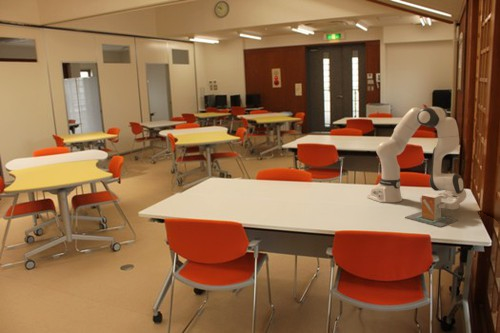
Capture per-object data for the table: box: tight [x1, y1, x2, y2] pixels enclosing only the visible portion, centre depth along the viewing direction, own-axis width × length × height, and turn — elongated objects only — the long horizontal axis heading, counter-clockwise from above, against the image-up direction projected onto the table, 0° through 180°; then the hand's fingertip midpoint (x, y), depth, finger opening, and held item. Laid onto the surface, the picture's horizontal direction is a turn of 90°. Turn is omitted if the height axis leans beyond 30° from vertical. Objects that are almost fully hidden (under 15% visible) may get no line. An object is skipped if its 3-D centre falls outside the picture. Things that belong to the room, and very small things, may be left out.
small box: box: [421, 193, 442, 221], centre depth 244 cm, size 8×6×13 cm
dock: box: [404, 210, 459, 228], centre depth 245 cm, size 22×16×1 cm
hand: (430, 204), depth 243 cm, fingers open, 8 cm apart
